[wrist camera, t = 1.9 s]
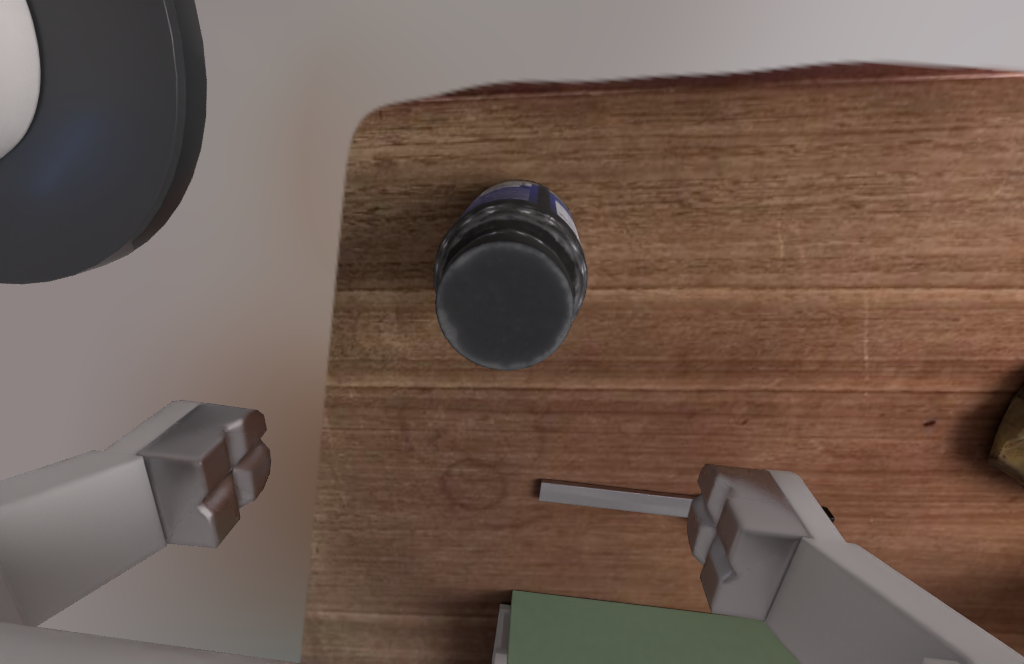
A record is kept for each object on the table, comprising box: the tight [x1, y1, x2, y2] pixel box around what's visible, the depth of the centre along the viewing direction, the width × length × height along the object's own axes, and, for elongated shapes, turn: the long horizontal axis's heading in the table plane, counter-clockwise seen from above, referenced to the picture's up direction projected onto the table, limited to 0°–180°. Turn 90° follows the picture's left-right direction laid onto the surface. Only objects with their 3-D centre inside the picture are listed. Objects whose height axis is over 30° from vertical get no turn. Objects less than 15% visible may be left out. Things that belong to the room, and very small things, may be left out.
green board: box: [507, 590, 800, 664], centre depth 34 cm, size 22×2×7 cm, turn 85°
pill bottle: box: [433, 180, 587, 371], centre depth 21 cm, size 6×6×11 cm
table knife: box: [539, 479, 835, 523], centre depth 32 cm, size 19×2×1 cm, turn 85°
